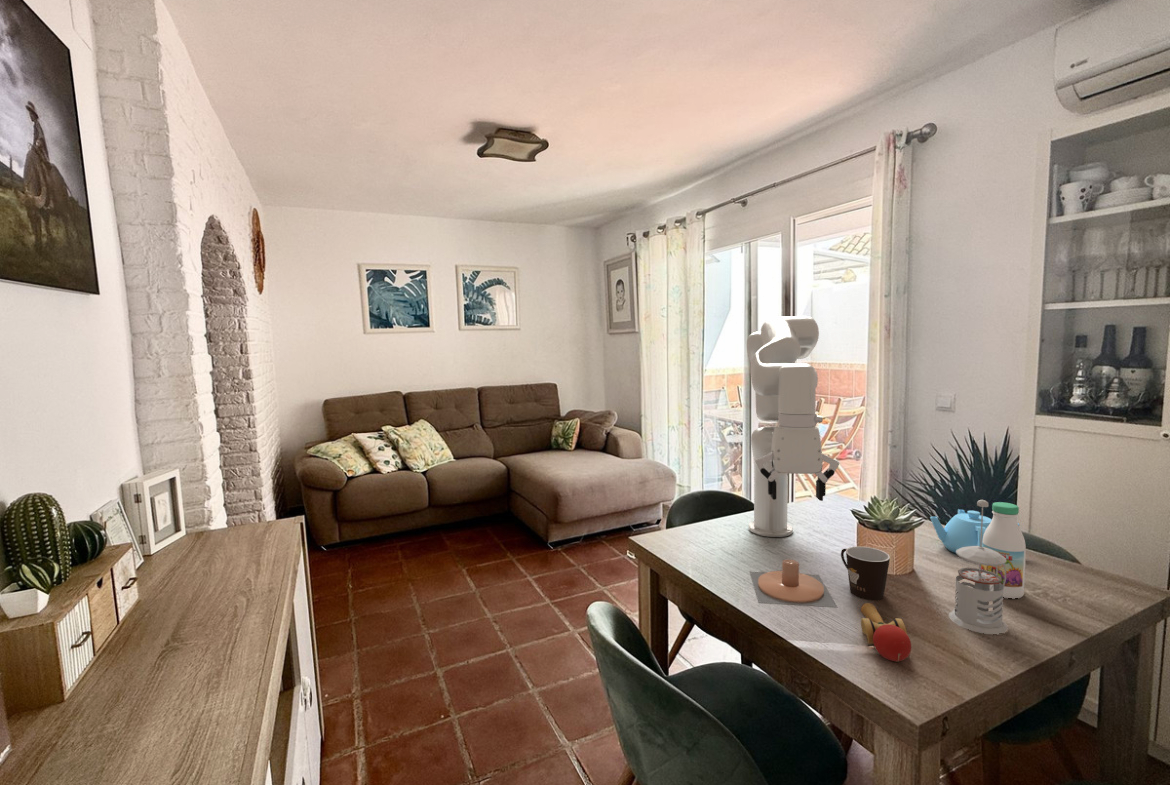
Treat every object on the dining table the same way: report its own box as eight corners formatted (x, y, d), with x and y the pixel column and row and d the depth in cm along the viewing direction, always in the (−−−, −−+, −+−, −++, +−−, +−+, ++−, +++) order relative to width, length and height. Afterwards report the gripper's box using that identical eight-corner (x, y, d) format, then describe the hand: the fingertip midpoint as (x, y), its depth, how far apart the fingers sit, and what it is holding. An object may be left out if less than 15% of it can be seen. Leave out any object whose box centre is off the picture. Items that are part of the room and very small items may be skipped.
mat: (749, 575, 131) (749, 571, 131) (818, 578, 129) (818, 574, 128) (758, 606, 116) (758, 602, 116) (837, 611, 113) (837, 607, 113)
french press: (936, 615, 111) (941, 496, 108) (974, 604, 115) (979, 489, 112) (987, 639, 101) (993, 510, 99) (1026, 626, 106) (1032, 502, 103)
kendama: (844, 621, 112) (869, 659, 94) (849, 591, 112) (875, 624, 94) (884, 632, 110) (917, 672, 92) (890, 601, 110) (924, 636, 92)
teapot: (924, 546, 147) (925, 508, 146) (958, 536, 153) (959, 500, 152) (985, 566, 133) (987, 524, 132) (1020, 555, 139) (1022, 515, 138)
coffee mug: (894, 608, 114) (896, 562, 113) (851, 605, 115) (851, 560, 115) (876, 584, 125) (877, 542, 124) (837, 581, 127) (837, 540, 126)
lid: (754, 573, 130) (754, 549, 130) (815, 576, 128) (815, 551, 127) (762, 600, 116) (762, 574, 116) (831, 604, 114) (831, 577, 113)
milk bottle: (983, 581, 125) (987, 497, 123) (1026, 591, 120) (1030, 504, 118) (976, 592, 120) (980, 505, 118) (1021, 603, 114) (1025, 512, 113)
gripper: (834, 419, 119) (833, 495, 120) (753, 419, 122) (753, 493, 123) (844, 423, 112) (843, 504, 113) (757, 423, 115) (757, 502, 116)
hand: (796, 498), depth 118 cm, fingers open, 9 cm apart
